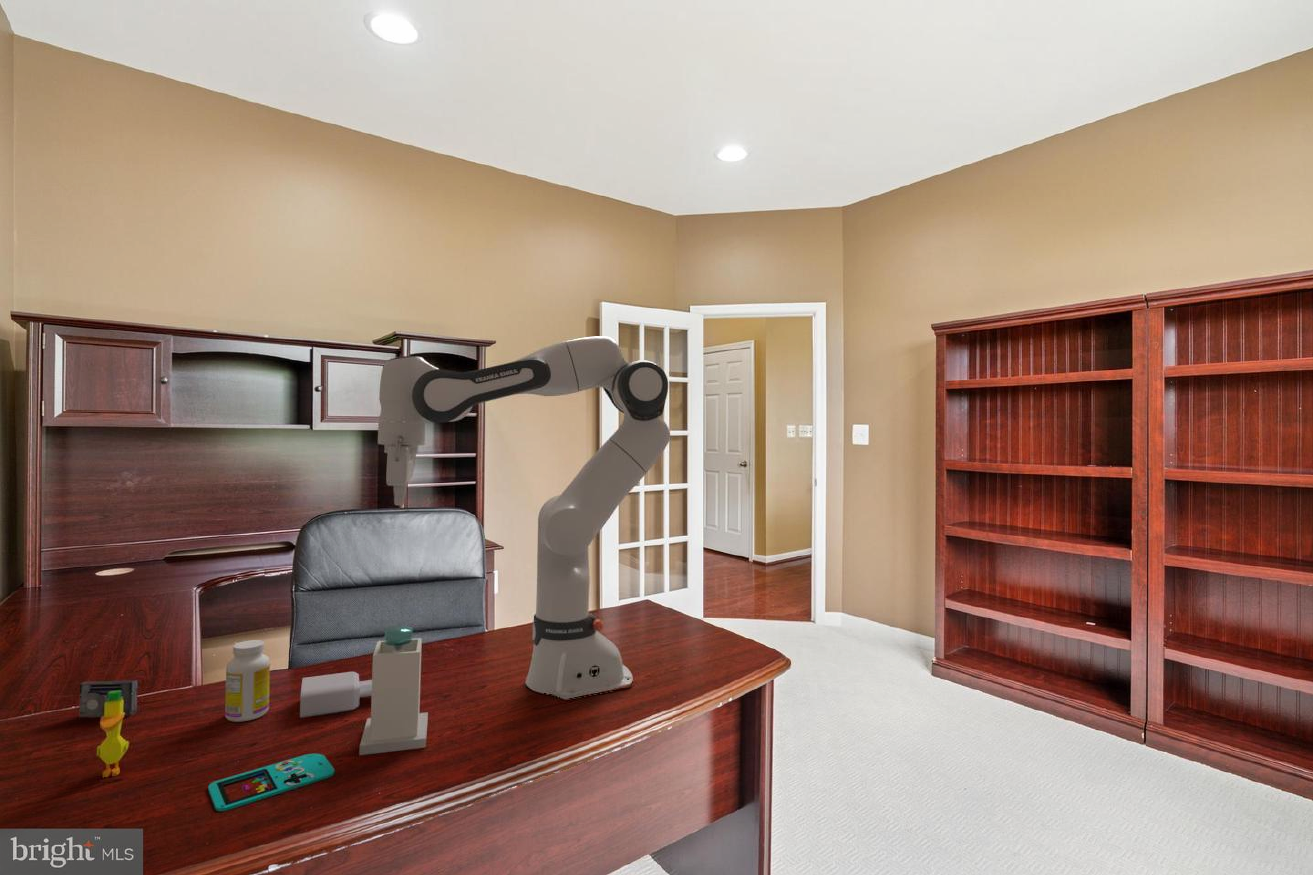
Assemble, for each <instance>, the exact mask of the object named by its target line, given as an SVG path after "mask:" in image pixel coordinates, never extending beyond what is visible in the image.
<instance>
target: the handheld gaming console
mask: <svg viewBox="0 0 1313 875" xmlns="http://www.w3.org/2000/svg"><path fill="white" fill-rule="evenodd" d="M261 774H263V775H261ZM334 774H335V768H334V767H333V765H332V764H331V763H330V761H329V760H328V759H327V757H326V756H325V755H324V754H322V753H321V754H320V753H309V754H304V755H301V756H296V757H294V758H289V759H286V760H283V761H280V762H276V763H273V764H269V765H265V766H262V767H260V768H259V767H258V768H256V769H253V770H249V771H246V772H242V773H238V774H236V775H232V776H229V777H225V778H222V779H219V780H216V781H215V780H214V781H212V782H211V783H209V785H208V787H207V788H208V794H209V796H210V798H211V801H212V803H213V806H214V808H215V810H216V811H218V812H226V811H230V810H233V809H236V808H238V807H241V806H245V805H248V804H252V803H254V802H257V801H260V800H263V799H266V798H269V797H272V796H276V795H278V794H282V793H285V792H289V791H291V790H294V789H295V790H296V789H297V788H300V787H303V786H307V785H310V784H313V783H316V782H319V781H323V780H325V779H329V778H330V777H332V776H334ZM252 777H254V780H253V781H251V783H252V784H255V783H260V784H261V785H258V787H257V788H255V791H256V792H257V793H253V794H250V795H247V796H244V797H240V798H238V799H234V800H230V799H229V796H228V794H227V792H226V789H225V787H224V785H228V784H231V783H236V782H238V781H241V780H245V779H248V778H252ZM242 786H243V787H242ZM242 786H241V787H242V788H241V789H244V790H246V791H248V790H250V787H249V784H245V785H242ZM244 786H245V788H244Z"/></svg>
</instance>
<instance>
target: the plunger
mask: <svg viewBox="0 0 1313 875" xmlns="http://www.w3.org/2000/svg"><path fill="white" fill-rule="evenodd" d="M413 630H414V629H413V627H412V626H409V625H395V626H391V627H388V628H385V629H384V641H385V644H386V645H391V646H393V653H396V652H403V645H405V644H408V643H410V642H412V639H413Z"/></svg>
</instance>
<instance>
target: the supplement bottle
mask: <svg viewBox="0 0 1313 875" xmlns="http://www.w3.org/2000/svg"><path fill="white" fill-rule="evenodd" d="M264 649H265V642H264V641H263V640H259V639H253V640H252V639H251V640H245V641H241V642H237V643H235V644H234V645H233V646H232V654H233V655H234V657H233V658H231V659H230V660H229V661H228V662H227V664H226V667H225V698H224V699H225V701H224V702H225V703H224V705H225V707H224V708H225V709H224V712H225V713H224V716H225V718H226V719H227V720H228V721H231V722H232V723H233V722H235V723H236V722H237V723H238V722H239V723H240V722H246V721H251V720H252V721H253V720H255V719H258V718H260V717H262V716H265V714H266V713H268V711H269V707H270V679H271V678H270V677H271V676H270V675H271V674H270V671H271V664H270V663H271V662H270V657H269V656H268V655H266V654H265V653H263V652H264Z"/></svg>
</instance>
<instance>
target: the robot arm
mask: <svg viewBox="0 0 1313 875" xmlns="http://www.w3.org/2000/svg"><path fill="white" fill-rule="evenodd" d="M379 381H380V383H379V396H378V397H379V398H378V400H379V405H380V414H379V417H378V425H377V426H378V427H377V433H378V434H377V444H378V445H382V446H384V451H383V452H384V453H385V454H387V456H386V458H387V459H386V473H385V475H386V477H385V478H386V479H385V480H386V485H387V486H388V487H393V489H392V490H393V496H394V498H393V503H394V505H395V506H404V504H405V502H406V493H407V492H406V491H407V485H408V483H409V482H410V480H411V479H412V478H413V476H414V470H415V465H416V457H417V454H418V453H419V446H425V445H426V443H425V442H426V441H425V440H426V420H427V421H429V422H430V423H436V424H441V423H449V422H450V423H451V422H457V421H460V420H462V419H463V418H465V417H466V416H468V415H469V414H470V412H471V411H472V409H473V407H474V406H476V405H478V404H483V403H487V402H490V401H493V400H494V401H495V400H497V399H502V398H506V397H510V396H514V395H524V394H526V395H536V396H537V395H538V396H542V397H557V396H566V395H571V394H575V393H579V392H583V391H586V390H589V389H595V388H602V389H603V391H604V392H605V394H606V395H607V397H608V398H609V400H610V402H611V404H613V406H614V407H615V408H616V410H617V411H620V412H621V413H623V420H622V422H621V424H620V425H619V427H618V429H617V430H616V431H615V432H614V433H613V434H612V435H611V436H610V437H609V438H608V439H607V440H606V441H605V442H604V443H603V444H602V446H601V447H600V448H599V449H598V450H597V451H596V452H595V453H594V454H593V455H592V457H590V458H589V459H588V461H587V462H586V463H585V464H584V465H583V466H582V467H581V469H580V471H578V473H577V474H576V475H575V477H574V478H573V479H572V481H571V482H570V483H569V484H568V486H567V487H566V488H565V489H564V491H563V492H562V493H561V494H559V495H556V496H553V497H551V498H549V499H548V500H547V501H545V502H544V504H543V505H542V506H541V508H540V510H539V511H538V512H539V513H538V518H537V557H536V558H537V559H536V560H537V561H536V564H537V566H536V571H537V572H536V573H537V574H536V596H535V597H536V601H535V603H536V604H535V606H536V607H535V614H534V615H533V621H532V642H533V650H532V656H531V661H530V665H529V669H528V673H527V675H526V676H527V677H526V679H525V685H526V686H527V687H528V688H529V689H530V690H532V691H533V692H537V693H539V694H544V693H546V694H545V695H549V694H553V695H552V696H554V695H555V696H554V697H556V696H557V698H559V697H560V698H559V699H561V698H562V699H563V700H570V699H569V698H573V697H578V696H582V695H586V694H591V693H598V692H601V691H606V690H611V689H614V688H619V687H623V686H627V685H630V684H631V683H632V681H633V682H634V678H633V674H632V671H630V669H629V668H628V667H627V666H625V665H624V664H623V660H622V655H621V653H620V650H619V649H618V647H617V646H616V645H615V643H613V642H612V641H611V640H609V639H608V638H606V636H604V635H603V634H602V633H600V631H602V629H603V628H604V623H603V621H602V620H601V619H600V618H598V617H597V616H595V615H593V614H592V613H591V612H589V610H590V609H589V607H590V582H591V581H590V580H591V579H590V577H591V576H590V565H589V564H590V563H589V562H590V559H589V546H590V545H591V543H592V541H593V540H594V539H595V537H596V536H597V535H598V534H599V532H600V531H601V530H602V529H603V528H604V526H605V524H606V523H607V522H608V521H609V519H610V517H611V516H612V515H613V514H614V512H615V510H616V509H617V508H618V506H619V505H620V503H621V502H622V501H623V500H624V499H625V497H627V495H628V494H629V493H630V492H632V490H633V489H634V488H635V487H636V486H637V484H638V483H639V482H640V481H641V480H642V479H643V478H644V477H645V476H646V474H648V472H649V471H650V470H651V468H652V467H653V466H654V465H655V464H656V462H657V461H658V460H659V458H660V457H661V455H662V454H663V452H664V451H665V450H666V447H667V446H668V444H669V442H670V439H671V432H670V429H669V426H668V425H667V423H666V421H664V419H663V418H662V417H661V416H662V415H663V413H664V409H665V405H666V400H667V397H668V393H669V392H668V391H669V380H668V376H667V374H666V372H665V371H664V369H663V368H662V367H661V366H660V365H658V364H657V363H655V362H653V361H650V360H645V359H642V360H641V359H639V360H635V361H633V362H631V363H630V362H628V361H627V360H626V359H625V358H624V356H623V352H622V350H621V347H620V346H619V345H618V343H617V342H616V340H614V339H613V338H611V337H610V336H607V335H603V336H601V335H599V336H586V337H585V336H584V337H580V338H574V339H568V340H565V341H561V342H557V343H554V344H551V345H548V346H545V347H543V348H540V349H538V350H536V351H534V352H532V353H529V354H527V355H525V356H522V357H520V358H518V359H516V360H514V361H511V362H507V363H502V364H498V365H495V366H489V367H485V368H481V369H477V370H471V371H464V372H462V371H454V370H450V369H449V370H448V369H441V368H438V367H436V366H435V365H432V364H430V362H428V361H427V360H426V359H424V357H422V356H417V355H412V356H411V355H406V356H405V355H404V356H397V357H393V358H390V359H389V360H387V361H386V362H385V363H384V364H383V366H382V369H381V375H380V380H379ZM627 679H629V680H627ZM578 698H579V697H578ZM562 699H561V700H562ZM573 699H574V698H573Z"/></svg>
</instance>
